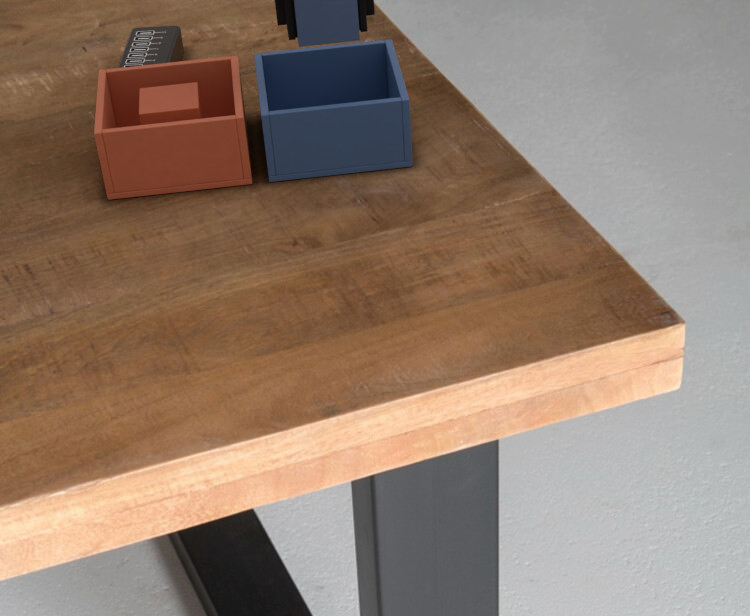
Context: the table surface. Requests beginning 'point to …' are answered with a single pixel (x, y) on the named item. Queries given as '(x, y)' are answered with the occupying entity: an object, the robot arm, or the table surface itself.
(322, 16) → the blue block
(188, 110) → the terracotta block
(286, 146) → the blue bin
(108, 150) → the terracotta bin
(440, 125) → the table surface
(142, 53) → the multiport hub
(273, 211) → the table surface
